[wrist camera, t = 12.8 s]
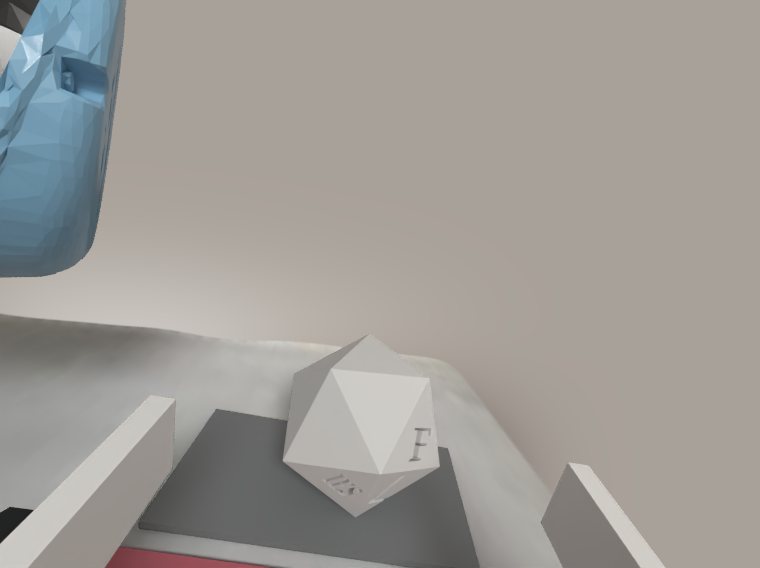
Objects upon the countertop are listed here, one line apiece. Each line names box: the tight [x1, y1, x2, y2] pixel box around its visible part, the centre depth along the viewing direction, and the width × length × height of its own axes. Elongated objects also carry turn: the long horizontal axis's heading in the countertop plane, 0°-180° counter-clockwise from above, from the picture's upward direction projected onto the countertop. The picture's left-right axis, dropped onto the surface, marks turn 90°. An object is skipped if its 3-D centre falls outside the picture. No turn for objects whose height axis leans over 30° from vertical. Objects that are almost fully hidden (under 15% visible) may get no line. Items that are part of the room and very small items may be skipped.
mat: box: [139, 409, 479, 568], centre depth 20 cm, size 16×8×1 cm, turn 90°
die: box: [283, 334, 440, 517], centre depth 20 cm, size 8×9×10 cm
